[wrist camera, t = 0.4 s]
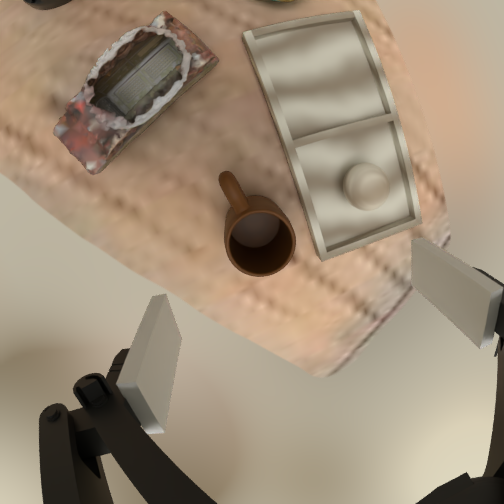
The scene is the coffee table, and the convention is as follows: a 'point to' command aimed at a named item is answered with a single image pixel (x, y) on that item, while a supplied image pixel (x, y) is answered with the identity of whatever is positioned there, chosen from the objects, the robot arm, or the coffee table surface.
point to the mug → (255, 231)
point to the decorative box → (132, 89)
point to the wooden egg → (366, 186)
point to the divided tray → (335, 125)
